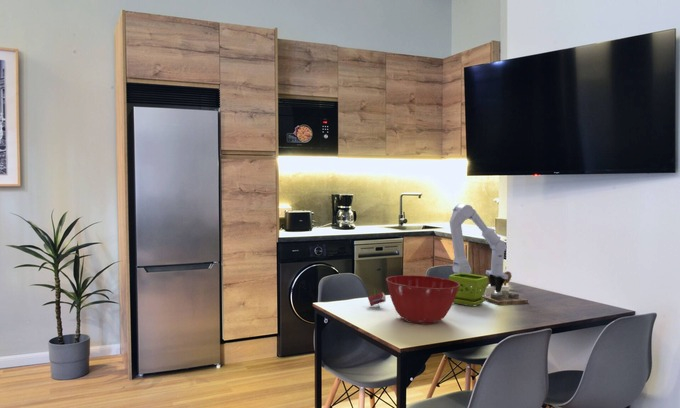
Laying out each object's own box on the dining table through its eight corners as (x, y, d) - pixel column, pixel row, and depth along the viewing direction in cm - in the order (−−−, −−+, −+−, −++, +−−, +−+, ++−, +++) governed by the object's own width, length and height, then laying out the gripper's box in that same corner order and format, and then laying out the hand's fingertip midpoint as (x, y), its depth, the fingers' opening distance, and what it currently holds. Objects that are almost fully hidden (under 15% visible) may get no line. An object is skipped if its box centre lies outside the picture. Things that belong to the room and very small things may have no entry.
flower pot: (475, 308, 240) (476, 279, 240) (446, 303, 249) (447, 275, 248) (488, 303, 251) (489, 276, 251) (459, 298, 260) (461, 272, 259)
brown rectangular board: (498, 304, 249) (498, 294, 249) (481, 299, 260) (482, 288, 260) (527, 303, 256) (528, 292, 256) (510, 297, 267) (511, 287, 267)
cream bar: (486, 295, 269) (486, 287, 269) (482, 294, 272) (482, 286, 272) (509, 294, 275) (509, 286, 275) (505, 293, 278) (505, 285, 277)
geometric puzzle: (364, 302, 233) (376, 288, 233) (364, 299, 240) (375, 285, 240) (377, 313, 233) (389, 298, 233) (376, 309, 240) (388, 295, 240)
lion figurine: (507, 287, 296) (508, 270, 295) (513, 289, 290) (514, 272, 290) (482, 287, 292) (483, 270, 292) (487, 289, 287) (488, 272, 287)
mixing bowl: (409, 307, 236) (411, 272, 236) (470, 320, 218) (472, 281, 218) (370, 318, 214) (371, 279, 214) (434, 334, 196) (436, 290, 196)
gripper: (513, 266, 268) (512, 293, 268) (494, 261, 281) (492, 288, 282) (501, 266, 265) (500, 294, 266) (483, 261, 278) (481, 288, 279)
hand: (495, 291), depth 273 cm, fingers closed on cream bar, 3 cm apart
